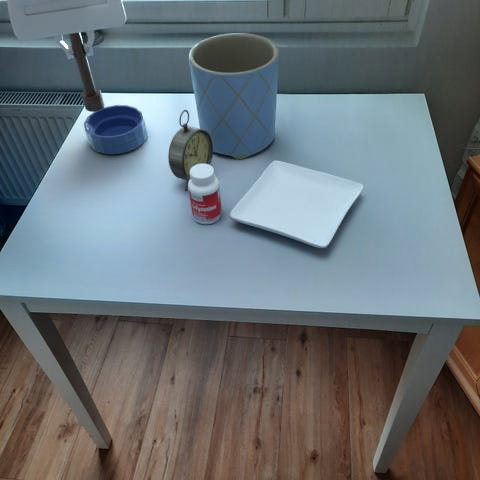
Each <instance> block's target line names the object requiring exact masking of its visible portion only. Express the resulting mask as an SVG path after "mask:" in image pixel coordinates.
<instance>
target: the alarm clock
mask: <svg viewBox="0 0 480 480" xmlns="http://www.w3.org/2000/svg"><path fill="white" fill-rule="evenodd" d="M185 112H186V114H187V120H186V123H183V124H182V116H183V115H184V113H185ZM189 121H190V113H189V111H188V110H187V109H184V110H182V111H181V113H180V115H179V121H178V122H179V126H180V127H181V128H179V129H178V130H177V131H176V132H175V134H174V135H173V137H172V139H171V141H170V143H169V148H168V158H167V159H168V165H169V168H170V171H171V173H172V174H173V175H174V176H175V177H176V178H177V179H181V180H183V181H185V188H184V191H185V192H189V190H188V182H189V180H190V169H191V168H192V167H193V166H195V165H197V164H209V165H211V164H212V161H213V157H214V156H213V155H214V151H213V144H212V139H211V137H210V135H209V133H208V132H207V131H206V130H204V129H200V127H196V126H195V127H194V126H190V125H188V124H189Z"/></svg>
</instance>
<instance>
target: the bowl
mask: <svg viewBox="0 0 480 480" xmlns="http://www.w3.org/2000/svg"><path fill="white" fill-rule="evenodd" d="M83 128H84V131H85V135H86V137H87V138H86V139H87V140H88V144H89V146H90V147H91V148H92V149H93V150H94V151H95V152H98V153H101V154H103V155H119V154H125V153H128V152H131V151H133V150H134V149H137V148H139V147H140V146H141V145H143V144H144V143H145V142H146V140H147V137H148V129H147V126H146V121H145V117H144V113H143V112H142V111H141V110H140V109H138V108H137V107H135V106H131V105H129V104H128V105H127V104H115V105H109V106H104V108H103V109H101V110H99V111H95V112H92V113H91V114H89V115H88V116H87V117H86V118H85V121H84V122H83Z"/></svg>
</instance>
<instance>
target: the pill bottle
mask: <svg viewBox="0 0 480 480" xmlns="http://www.w3.org/2000/svg"><path fill="white" fill-rule="evenodd" d="M188 195H189V201H190V209H191V215H192V219H193V220H194V221H195V222H196V223H198V224H201V225H211V224H215V223H216V222H218V221H219V220H220V219H221V218H222V213H223V211H222V210H223V209H222V198H221V189H220V180H219V179H218V177H217V176H216V175H215V169H214V167H213V165H211V164H210V165H209V164H197V165H195V166H193V167H192V168H191V169H190V180H189V182H188Z"/></svg>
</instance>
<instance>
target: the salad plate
mask: <svg viewBox="0 0 480 480" xmlns="http://www.w3.org/2000/svg"><path fill="white" fill-rule="evenodd" d="M363 190H364V184H362V183H360V182H357V181H354V180H351V179H348V178H344V177H341V176H337V175H333V174H330V173H326V172H322V171H320V170H319V171H318V170H315V169H311V168H308V167H304V166H300V165H296V164H294V163H289V162H286V161H281V160H272V161H271V162H270V164H269V165H267V167H266V168H265V169H264V171H263V172H262V173H261V174H260V175H259V177H257V179H256V181H255V182H254V183H253V184H252V185H251V187H250V188H249V189H248V190H247V191H246V193H245V194H244V195H243V196H242V197H241V199H239V200H238V202H237V203H236V204H235V206H234V207H233V208H231V210H230V213H229V217H230V218H231V219H232V220H234V221H235V222H237V223H240V224H243V225H248V226H252V227H254V228H258V229H261V230H264V231H268V232H271V233H275V234H278V235H281V236H283V237H287V238H288V239H293V240H295V241H298V242H300V243H304V244H306V245H308V246H312V247H313V248H314V247H315V248H318V249H324V248H327V247H328V246H329V245H330V243H331V242H332V240H333V238H334V236H335V235H336V233H337V231H338V229H339V227H340V225H341V223H342V222H343V220H344V218H345V217H346V215H347V213H348V212H349V211H350V209H351V207H352V206H353V205H354V203H355V202H356V201H357V199H358V198H359V196H360V195H361V194H362V192H363Z"/></svg>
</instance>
